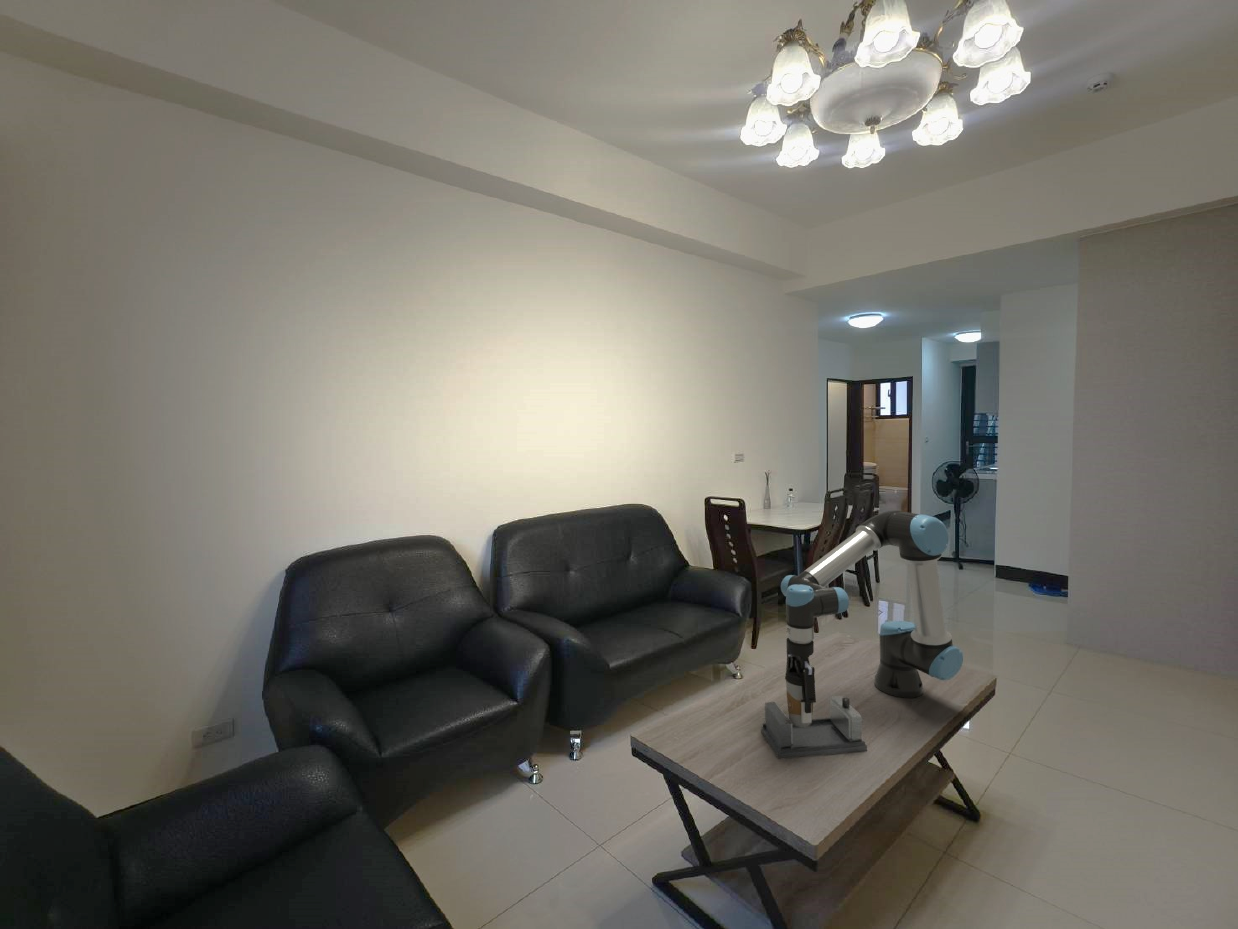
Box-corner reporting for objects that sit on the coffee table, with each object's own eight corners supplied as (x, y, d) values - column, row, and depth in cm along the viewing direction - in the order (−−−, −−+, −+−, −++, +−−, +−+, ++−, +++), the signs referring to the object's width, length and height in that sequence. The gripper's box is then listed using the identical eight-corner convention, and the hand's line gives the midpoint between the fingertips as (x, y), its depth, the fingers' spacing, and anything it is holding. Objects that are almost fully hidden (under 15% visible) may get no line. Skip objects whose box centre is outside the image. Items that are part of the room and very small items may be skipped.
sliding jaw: (840, 720, 166) (840, 689, 166) (861, 743, 154) (861, 709, 154) (829, 721, 166) (829, 690, 165) (849, 744, 154) (849, 710, 153)
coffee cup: (780, 715, 162) (780, 666, 161) (807, 713, 163) (807, 665, 162) (792, 730, 154) (791, 679, 153) (820, 728, 155) (820, 677, 154)
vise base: (841, 724, 167) (841, 694, 167) (866, 750, 153) (866, 718, 153) (761, 731, 165) (760, 701, 164) (779, 759, 151) (778, 726, 150)
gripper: (774, 627, 167) (774, 698, 168) (802, 654, 146) (803, 735, 148) (797, 625, 167) (797, 696, 169) (829, 652, 147) (829, 733, 148)
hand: (800, 714), depth 158 cm, fingers closed on coffee cup, 7 cm apart
